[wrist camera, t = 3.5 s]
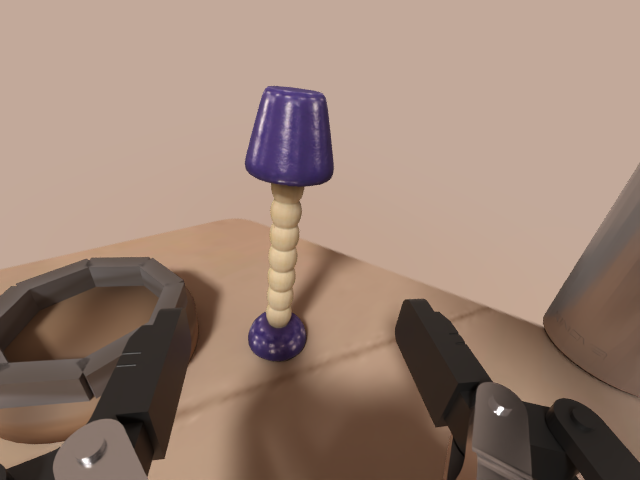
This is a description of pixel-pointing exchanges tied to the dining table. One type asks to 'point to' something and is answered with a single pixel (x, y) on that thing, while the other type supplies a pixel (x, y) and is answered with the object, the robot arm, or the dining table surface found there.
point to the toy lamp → (286, 202)
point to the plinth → (75, 339)
